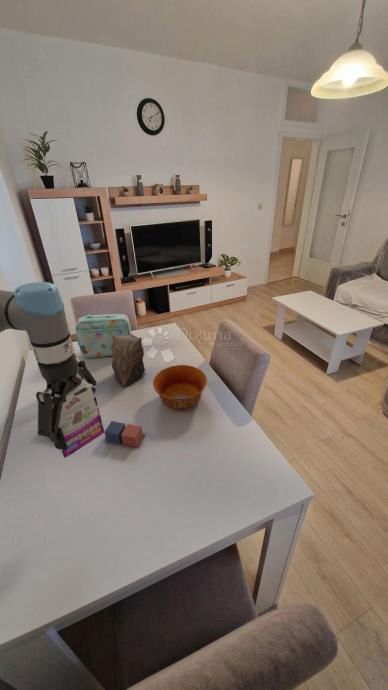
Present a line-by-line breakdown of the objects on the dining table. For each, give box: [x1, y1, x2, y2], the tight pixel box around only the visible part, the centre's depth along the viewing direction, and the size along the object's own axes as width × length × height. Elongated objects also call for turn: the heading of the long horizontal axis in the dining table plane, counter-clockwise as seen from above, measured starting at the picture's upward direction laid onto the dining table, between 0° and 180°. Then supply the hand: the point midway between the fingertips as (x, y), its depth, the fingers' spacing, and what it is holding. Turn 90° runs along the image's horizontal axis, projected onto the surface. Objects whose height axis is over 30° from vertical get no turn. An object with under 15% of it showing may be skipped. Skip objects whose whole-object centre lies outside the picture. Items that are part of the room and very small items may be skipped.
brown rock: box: [111, 333, 146, 388], centre depth 120 cm, size 13×13×20 cm
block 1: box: [104, 420, 127, 445], centre depth 94 cm, size 5×5×5 cm
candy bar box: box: [52, 378, 105, 459], centre depth 68 cm, size 11×5×16 cm, turn 137°
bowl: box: [152, 364, 208, 411], centre depth 109 cm, size 21×21×10 cm
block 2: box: [121, 423, 144, 448], centre depth 92 cm, size 5×5×5 cm
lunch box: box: [74, 313, 132, 359], centre depth 138 cm, size 27×10×21 cm, turn 102°
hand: (77, 428), depth 70 cm, fingers closed on candy bar box, 12 cm apart
